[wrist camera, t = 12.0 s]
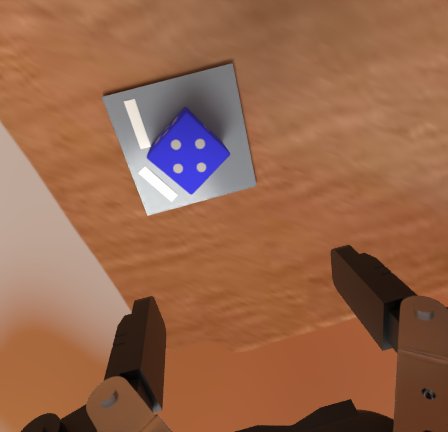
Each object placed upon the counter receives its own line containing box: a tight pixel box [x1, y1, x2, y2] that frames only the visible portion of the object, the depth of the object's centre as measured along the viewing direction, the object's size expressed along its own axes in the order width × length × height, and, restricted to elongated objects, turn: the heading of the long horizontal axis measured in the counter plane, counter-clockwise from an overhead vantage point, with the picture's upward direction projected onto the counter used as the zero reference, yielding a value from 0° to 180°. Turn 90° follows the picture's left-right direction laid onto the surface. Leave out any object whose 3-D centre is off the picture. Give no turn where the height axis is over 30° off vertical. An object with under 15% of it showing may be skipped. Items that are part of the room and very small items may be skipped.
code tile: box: [102, 63, 256, 215], centre depth 29 cm, size 12×12×1 cm
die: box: [147, 107, 230, 195], centre depth 27 cm, size 5×5×5 cm
